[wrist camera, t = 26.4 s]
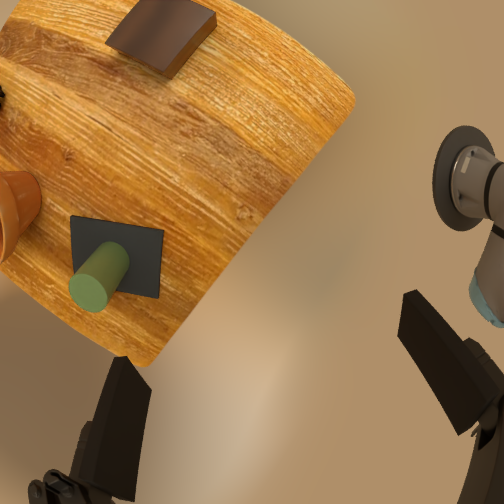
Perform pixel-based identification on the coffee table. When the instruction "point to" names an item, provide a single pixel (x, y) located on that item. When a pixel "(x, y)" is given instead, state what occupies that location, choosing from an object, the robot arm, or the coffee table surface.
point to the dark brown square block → (163, 33)
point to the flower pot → (16, 208)
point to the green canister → (99, 277)
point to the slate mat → (132, 240)
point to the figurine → (1, 95)
